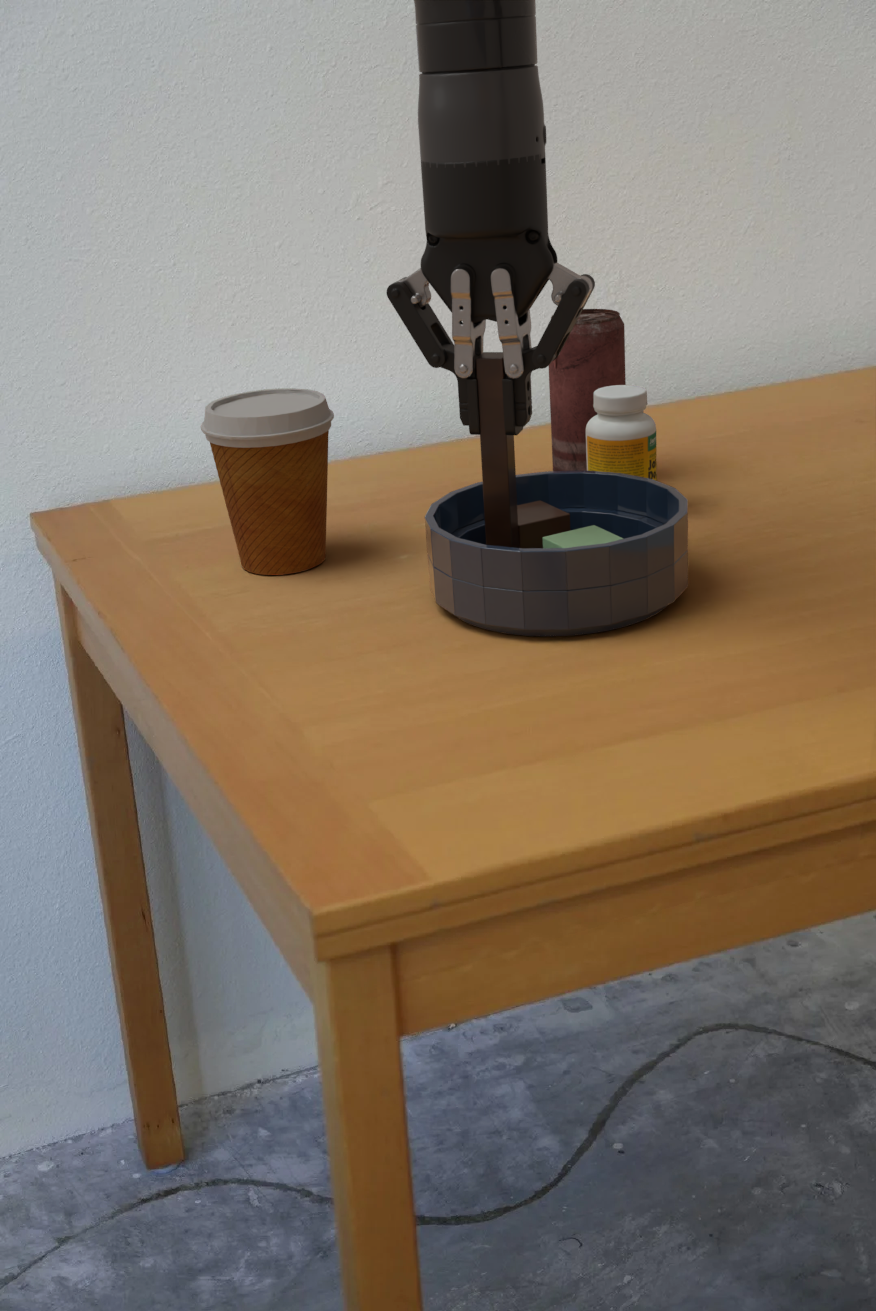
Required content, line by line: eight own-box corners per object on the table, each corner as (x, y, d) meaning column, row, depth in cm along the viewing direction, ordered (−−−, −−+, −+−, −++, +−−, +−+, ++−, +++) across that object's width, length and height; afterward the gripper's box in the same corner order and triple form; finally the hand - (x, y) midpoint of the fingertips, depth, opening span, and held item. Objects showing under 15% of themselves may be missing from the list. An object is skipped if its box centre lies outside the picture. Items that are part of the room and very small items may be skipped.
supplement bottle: (585, 503, 118) (581, 384, 114) (653, 499, 117) (651, 379, 114) (590, 525, 113) (587, 401, 109) (661, 520, 112) (659, 396, 109)
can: (536, 487, 123) (528, 317, 117) (588, 469, 126) (583, 303, 121) (590, 499, 118) (584, 324, 113) (642, 480, 122) (639, 310, 117)
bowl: (741, 601, 96) (742, 513, 94) (510, 664, 89) (505, 570, 87) (598, 534, 110) (596, 456, 108) (390, 584, 104) (383, 502, 101)
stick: (520, 559, 99) (510, 351, 94) (513, 568, 98) (502, 357, 92) (494, 558, 100) (483, 351, 95) (487, 567, 98) (475, 357, 93)
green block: (629, 598, 96) (627, 540, 94) (576, 612, 94) (574, 553, 93) (595, 581, 99) (594, 524, 98) (544, 594, 98) (541, 536, 96)
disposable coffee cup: (326, 532, 115) (311, 380, 111) (363, 568, 107) (348, 405, 102) (207, 554, 113) (186, 399, 108) (235, 592, 104) (214, 426, 100)
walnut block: (572, 569, 102) (570, 513, 100) (521, 581, 100) (519, 525, 98) (542, 553, 105) (540, 499, 103) (493, 565, 103) (490, 511, 102)
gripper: (353, 161, 87) (377, 446, 94) (580, 151, 83) (589, 450, 90) (395, 149, 94) (415, 416, 101) (608, 139, 90) (613, 418, 97)
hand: (497, 431), depth 95 cm, fingers closed on stick, 2 cm apart
